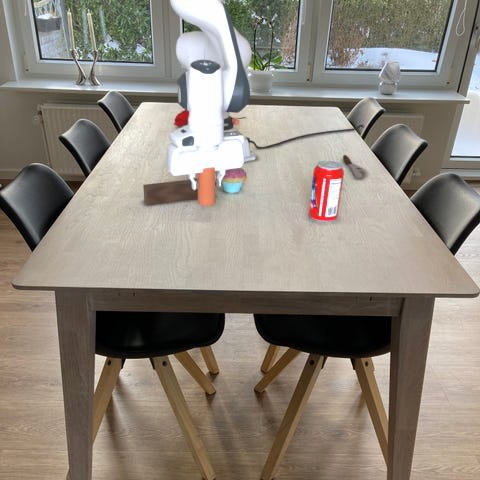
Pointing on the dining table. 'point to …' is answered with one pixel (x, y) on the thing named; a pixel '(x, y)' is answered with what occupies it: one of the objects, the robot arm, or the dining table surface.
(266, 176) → the dining table surface
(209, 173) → the capped bottle
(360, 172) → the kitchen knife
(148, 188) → the wall
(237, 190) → the cupcake
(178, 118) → the flower
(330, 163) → the soda can
